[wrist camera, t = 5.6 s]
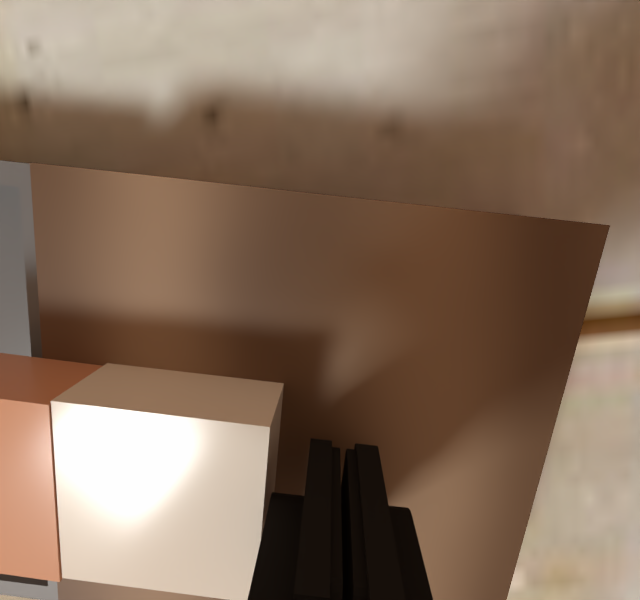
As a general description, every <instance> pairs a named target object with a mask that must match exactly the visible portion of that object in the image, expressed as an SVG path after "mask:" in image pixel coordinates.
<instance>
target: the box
mask: <svg viewBox="0 0 640 600" xmlns="http://www.w3.org/2000/svg"><path fill="white" fill-rule="evenodd" d="M0 353H6V354H14V355H22V356H30V357H38V358H42V344H41V329H40V313H39V298H38V283H37V268H36V252H35V237H34V222H33V207H32V191H31V176H30V164H29V163H19V162H10V161H1V160H0ZM0 594H1V595H9V596H16V597H24V598H32V599H40V600H58V588H57V582H55V581H49V580H42V579H35V578H28V577H21V576H14V575H7V574H0Z"/></svg>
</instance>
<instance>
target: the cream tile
mask: <svg viewBox="0 0 640 600" xmlns="http://www.w3.org/2000/svg"><path fill="white" fill-rule="evenodd" d="M283 388H284V383H276V382H268V381H259V380H251V379H242V378H233V377H225V376H216V375H207V374H198V373H190V372H181V371H172V370H163V369H155V368H146V367H137V366H128V365H120V364H111V363H107V364H105V365H104V366H102V367H101V368H99V369H98V370H96V371H95V372H93V373H92V374H90V375H89V376H87V377H86V378H84V379H83V380H81V381H80V382H78V383H77V384H75V385H74V386H72V387H71V388H69V389H68V390H66V391H65V392H63V393H62V394H60V395H59V396H57V397H56V398H54V399H53V400H51V416H52V431H53V446H54V461H55V476H56V492H57V507H58V522H59V537H60V552H61V567H62V578H66V579H73V580H81V581H89V582H96V583H104V584H111V585H119V586H127V587H134V588H142V589H150V590H157V591H165V592H173V593H180V594H188V595H196V596H203V597H211V598H219V599H226V600H248V595H249V591H250V586H251V582H252V577H253V573H254V568H255V564H256V560H257V555H258V551H259V546H260V542H261V537H262V533H263V528H264V524H265V520H266V515H267V511H268V506H269V502H270V498H271V494H272V492H274V490H275V479H276V467H277V456H278V445H279V433H280V422H281V410H282V399H283Z"/></svg>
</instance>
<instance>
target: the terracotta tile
mask: <svg viewBox="0 0 640 600" xmlns="http://www.w3.org/2000/svg"><path fill="white" fill-rule="evenodd" d="M101 367H102V365H94V364H86V363H78V362H70V361H62V360H54V359H45V358H38V357H30V356H22V355H14V354H6V353H0V574H7V575H14V576H21V577H28V578H35V579H42V580H49V581H55V582H60V581H61V580H62V567H61V552H60V537H59V522H58V507H57V492H56V476H55V461H54V446H53V431H52V416H51V400H53V399H54V398H56V397H57V396H59V395H60V394H62V393H63V392H65V391H66V390H68V389H69V388H71V387H72V386H74V385H75V384H77V383H78V382H80V381H81V380H83V379H84V378H86V377H87V376H89V375H90V374H92V373H93V372H95V371H96V370H98V369H99V368H101Z"/></svg>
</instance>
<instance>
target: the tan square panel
mask: <svg viewBox="0 0 640 600" xmlns="http://www.w3.org/2000/svg"><path fill="white" fill-rule="evenodd" d="M30 176H31V191H32V207H33V222H34V237H35V252H36V268H37V283H38V298H39V313H40V329H41V344H42V358H45V359H54V360H62V361H70V362H78V363H86V364H94V365H102V366H104V365H105V364H107V363H111V364H120V365H128V366H137V367H146V368H155V369H163V370H172V371H181V372H190V373H198V374H207V375H216V376H225V377H233V378H242V379H251V380H259V381H268V382H276V383H284V388H283V399H282V410H281V422H280V433H279V445H278V456H277V467H276V479H275V490H274V492H276V493H285V494H293V495H302V496H304V494H305V485H306V476H307V466H308V457H309V448H310V439H311V438H313V439H322V440H331V441H332V447H338V448H340V465H341V483H342V476H343V468H344V461H345V453H346V449H354V446H355V444H356V443H358V444H366V445H375V446H378V449H379V454H380V460H381V466H382V471H383V477H384V482H385V488H386V493H387V499H388V505H389V506H397V507H406V508H409V509H410V511H411V514H412V517H413V521H414V525H415V529H416V533H417V537H418V541H419V545H420V549H421V553H422V557H423V561H424V565H425V569H426V573H427V577H428V581H429V585H430V589H431V593H432V597H433V600H506V599H507V596H508V592H509V588H510V585H511V581H512V577H513V574H514V570H515V567H516V563H517V559H518V556H519V552H520V549H521V545H522V541H523V538H524V534H525V531H526V527H527V523H528V520H529V516H530V512H531V509H532V505H533V502H534V498H535V494H536V491H537V487H538V484H539V480H540V476H541V473H542V469H543V465H544V462H545V458H546V455H547V451H548V447H549V444H550V440H551V437H552V433H553V429H554V426H555V422H556V418H557V415H558V411H559V408H560V404H561V400H562V397H563V393H564V390H565V386H566V382H567V379H568V375H569V371H570V368H571V364H572V361H573V357H574V353H575V350H576V346H577V343H578V339H579V335H580V332H581V328H582V325H583V321H584V317H585V314H586V310H587V306H588V303H589V299H590V296H591V292H592V288H593V285H594V281H595V278H596V274H597V270H598V267H599V263H600V259H601V256H602V252H603V249H604V245H605V241H606V238H607V234H608V231H609V227H610V225H601V224H592V223H582V222H573V221H564V220H555V219H546V218H536V217H527V216H518V215H509V214H500V213H490V212H481V211H472V210H463V209H454V208H444V207H435V206H426V205H417V204H408V203H399V202H389V201H380V200H371V199H362V198H353V197H343V196H334V195H325V194H316V193H307V192H297V191H288V190H279V189H270V188H261V187H251V186H242V185H233V184H224V183H215V182H205V181H196V180H187V179H178V178H169V177H160V176H150V175H141V174H132V173H123V172H114V171H104V170H95V169H86V168H77V167H68V166H58V165H49V164H40V163H31V162H30ZM57 588H58V600H226V599H219V598H211V597H203V596H196V595H188V594H180V593H173V592H165V591H157V590H150V589H142V588H134V587H127V586H119V585H111V584H104V583H96V582H89V581H81V580H73V579H66V578H62V580H61V581H60V582H57Z"/></svg>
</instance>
